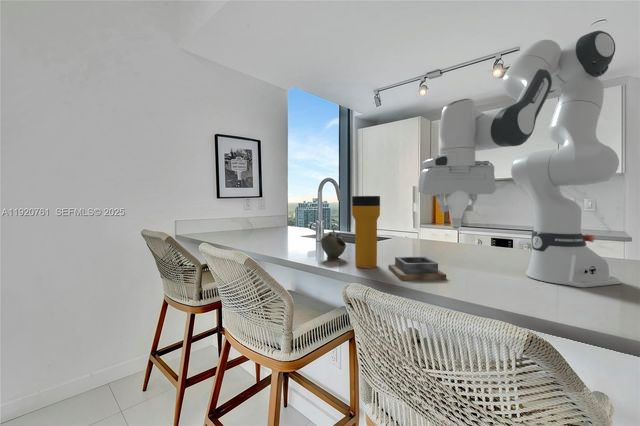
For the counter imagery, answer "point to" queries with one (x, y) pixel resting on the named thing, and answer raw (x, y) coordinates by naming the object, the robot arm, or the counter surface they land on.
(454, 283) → the counter surface
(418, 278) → the socket base
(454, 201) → the lightbulb
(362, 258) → the flashlight
